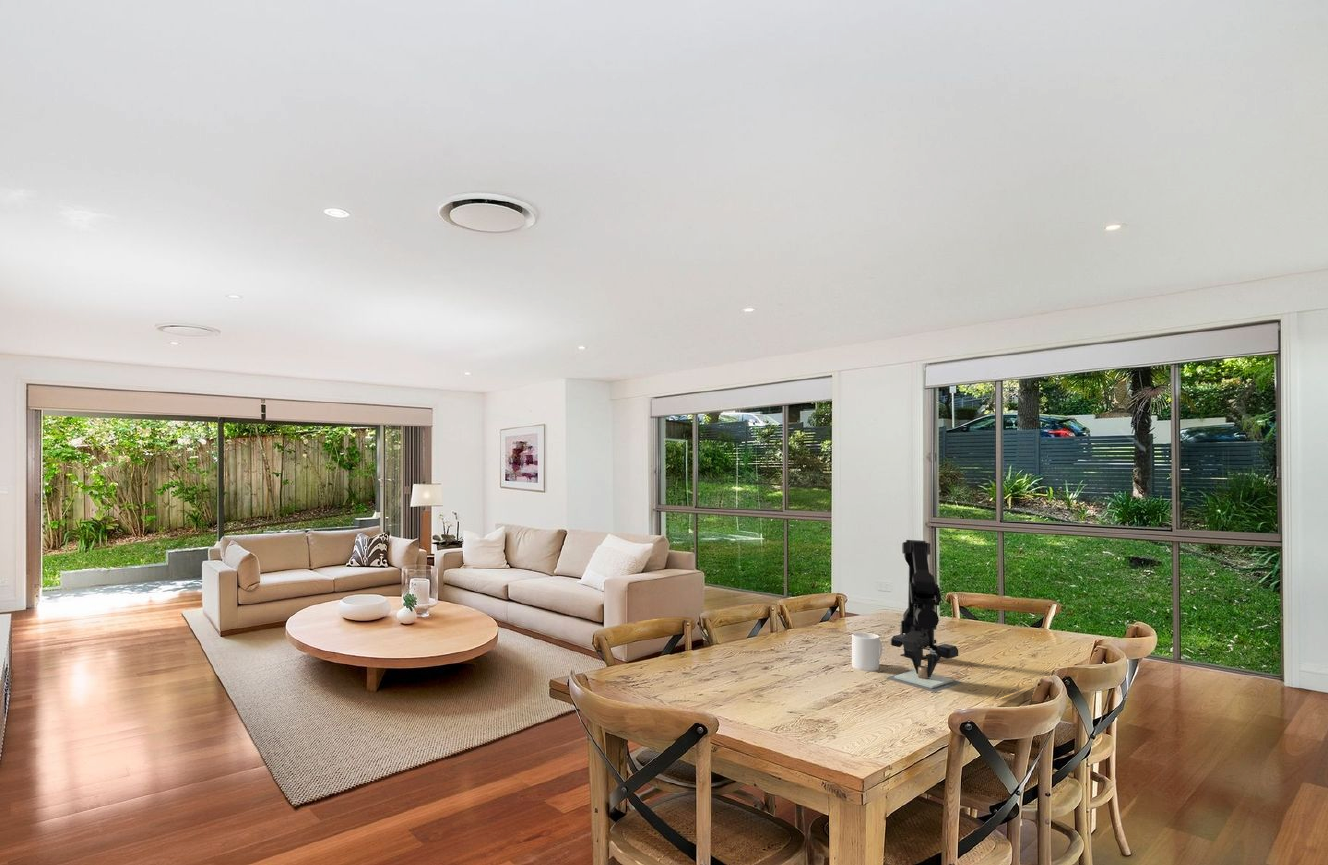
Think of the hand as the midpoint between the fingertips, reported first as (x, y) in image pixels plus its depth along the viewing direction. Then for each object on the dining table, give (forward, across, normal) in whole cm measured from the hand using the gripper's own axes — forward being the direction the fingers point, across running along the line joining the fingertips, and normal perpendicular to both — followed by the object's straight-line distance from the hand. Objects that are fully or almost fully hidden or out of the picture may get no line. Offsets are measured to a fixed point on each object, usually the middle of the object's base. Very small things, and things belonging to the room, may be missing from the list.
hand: (923, 675), depth 203 cm
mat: (+2, 0, 0) cm, 2 cm away
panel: (+1, 0, 0) cm, 1 cm away
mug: (+2, -18, -1) cm, 18 cm away
